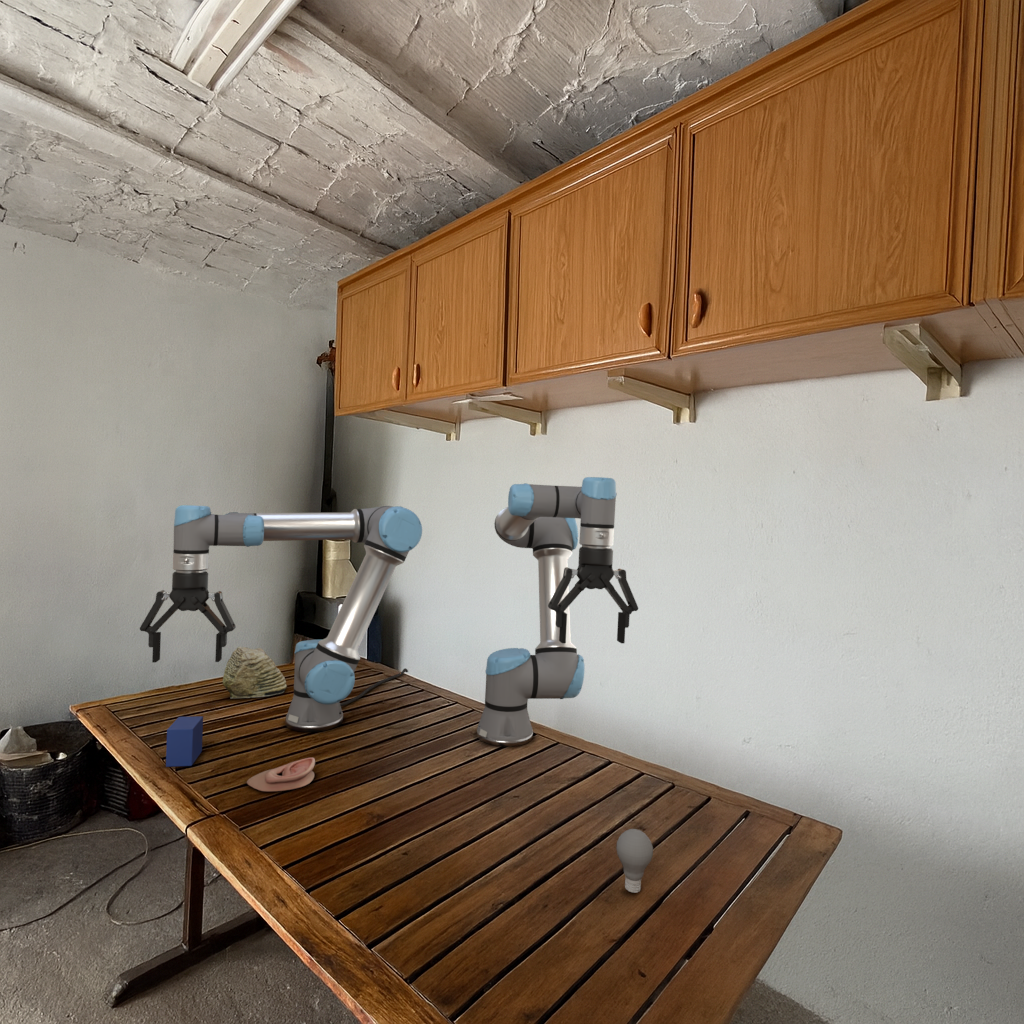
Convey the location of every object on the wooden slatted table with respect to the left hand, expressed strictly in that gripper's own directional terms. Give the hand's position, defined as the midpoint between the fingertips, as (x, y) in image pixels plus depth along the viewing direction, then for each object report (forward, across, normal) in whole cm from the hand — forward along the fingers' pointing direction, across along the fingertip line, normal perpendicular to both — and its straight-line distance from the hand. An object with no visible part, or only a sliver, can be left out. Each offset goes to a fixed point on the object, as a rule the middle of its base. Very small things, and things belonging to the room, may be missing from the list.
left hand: (187, 660), depth 149 cm
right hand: (-10, +90, -26) cm, 95 cm away
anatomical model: (+23, +24, -15) cm, 37 cm away
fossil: (+23, +6, +48) cm, 54 cm away
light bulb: (+23, +87, -62) cm, 110 cm away
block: (+23, 0, 0) cm, 23 cm away
